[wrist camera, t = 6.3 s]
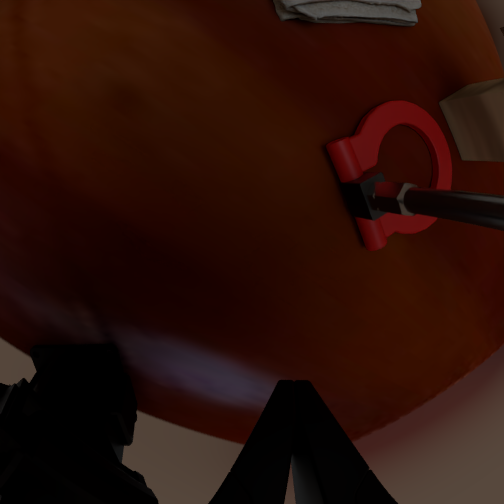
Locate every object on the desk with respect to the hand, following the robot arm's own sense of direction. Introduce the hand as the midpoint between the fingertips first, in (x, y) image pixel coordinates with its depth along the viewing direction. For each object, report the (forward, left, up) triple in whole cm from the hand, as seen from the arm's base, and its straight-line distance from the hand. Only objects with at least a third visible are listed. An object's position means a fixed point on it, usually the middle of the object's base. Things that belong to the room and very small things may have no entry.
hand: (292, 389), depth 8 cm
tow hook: (+12, +6, -11) cm, 17 cm away
